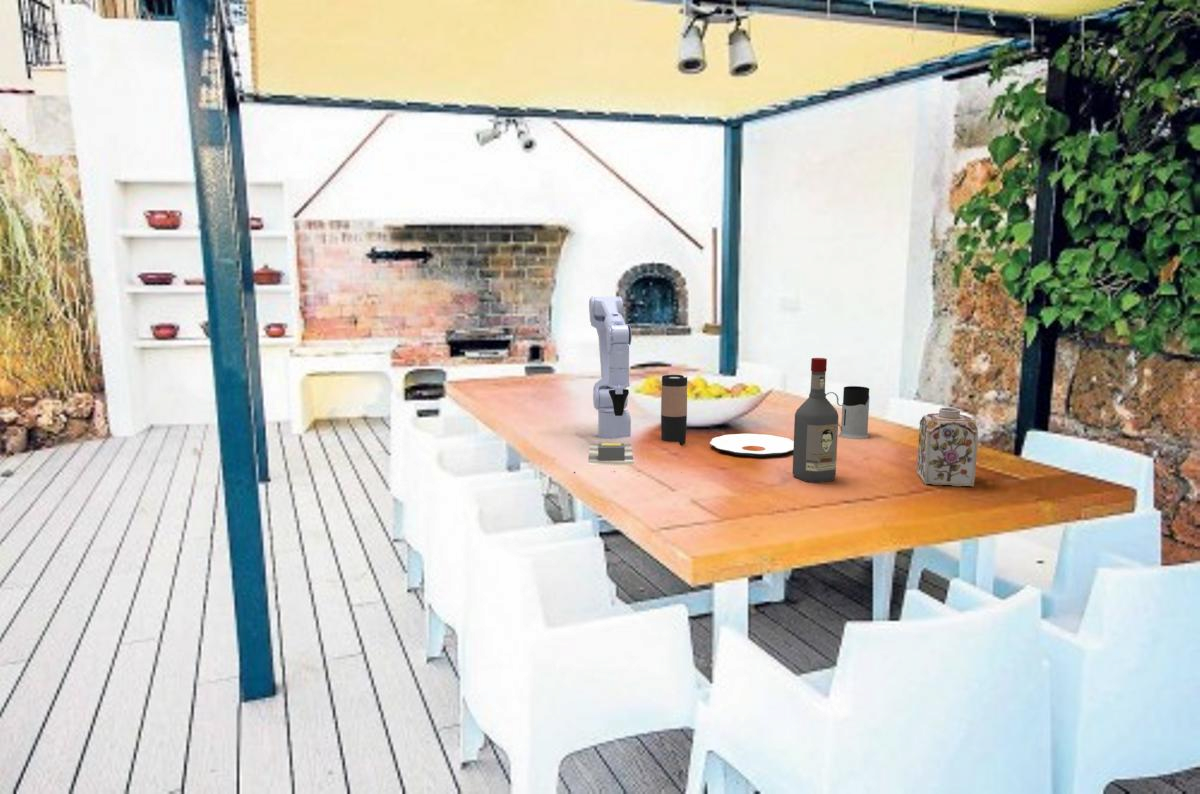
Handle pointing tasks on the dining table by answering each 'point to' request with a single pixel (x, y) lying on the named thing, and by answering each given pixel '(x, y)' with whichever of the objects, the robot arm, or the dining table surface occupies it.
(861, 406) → the glass holder
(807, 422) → the liquor
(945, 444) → the decorative jar
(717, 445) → the plate
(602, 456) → the block
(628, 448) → the subfloor plank
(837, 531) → the dining table surface
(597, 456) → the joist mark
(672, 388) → the travel mug
